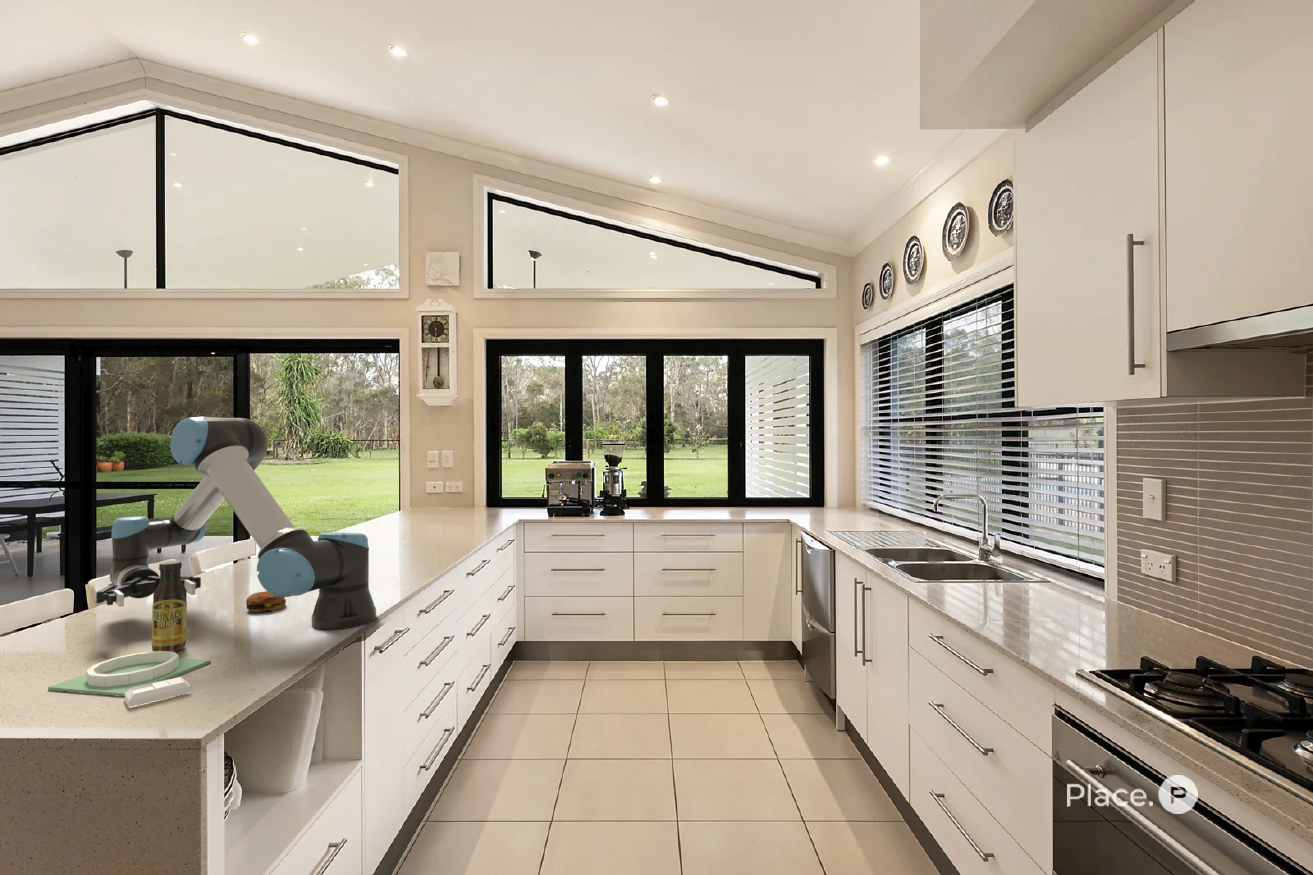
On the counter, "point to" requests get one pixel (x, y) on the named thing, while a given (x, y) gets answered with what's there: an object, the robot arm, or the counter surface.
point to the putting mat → (124, 688)
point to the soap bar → (157, 691)
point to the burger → (264, 602)
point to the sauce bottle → (169, 609)
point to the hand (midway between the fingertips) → (158, 594)
